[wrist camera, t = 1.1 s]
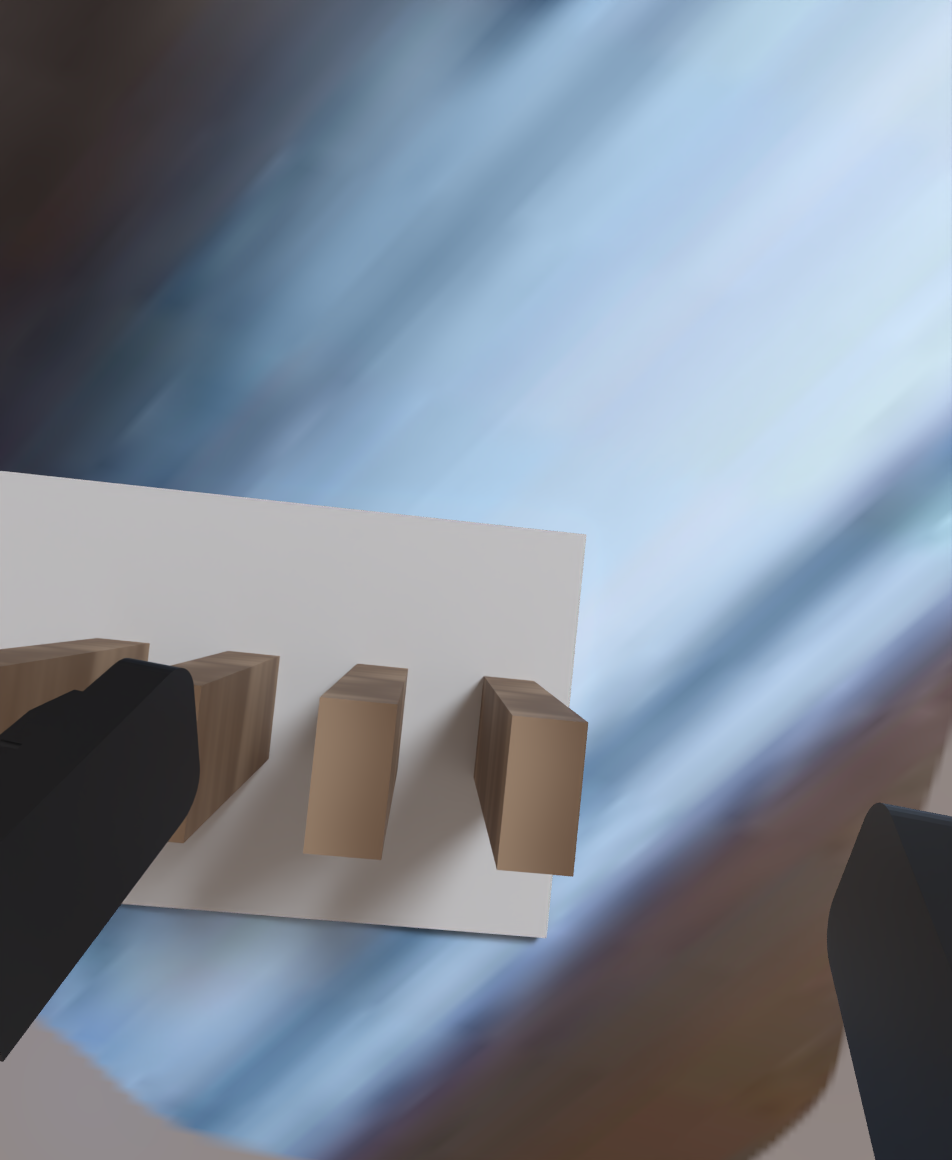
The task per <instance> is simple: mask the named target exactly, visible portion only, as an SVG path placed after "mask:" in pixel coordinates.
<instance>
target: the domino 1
mask: <svg viewBox="0 0 952 1160" xmlns="http://www.w3.org/2000/svg"><path fill="white" fill-rule="evenodd" d="M149 647H150V643H143V642H133V641H123V640H113V639H102V638H93V639H84V640H75V641H67V642H58V643H49V644H41V645H32V646H23V647H15V648H6V649H0V734H1V733H3V732H4V731H5V730H6V729H7V728H9V727H10V726H11V725H12V724H13V723H15V722H16V721H17V720H18V719H20V718H21V717H22V716H23V715H24V714H26V713H27V712H28V711H29V710H31V709H33V708H36V707H38V706H40V705H42V704H44V703H46V702H48V701H50V700H53V699H55V698H57V697H59V696H61V695H63V694H65V693H68V692H70V691H72V690H79V691H84V690H85V689H86V688H87V687H88V686H90V685H91V684H92V683H93V682H94V681H95V680H96V679H98V678H99V677H100V676H101V675H102V674H103V673H104V672H106V671H107V670H108V669H109V668H110V667H111V666H113V665H114V664H115V663H116V662H118V661H119V660H121V659H123V658H132V659H138V660H143V661H148V656H149Z"/></svg>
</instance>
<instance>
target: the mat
mask: <svg viewBox="0 0 952 1160" xmlns="http://www.w3.org/2000/svg"><path fill="white" fill-rule="evenodd" d="M585 543H586V535H585V534H576V533H567V532H558V531H548V530H539V529H530V528H521V527H511V526H502V525H493V524H484V523H475V522H465V521H456V520H447V519H438V518H429V517H419V516H410V515H401V514H392V513H383V512H373V511H364V510H355V509H346V508H336V507H327V506H318V505H309V504H300V503H290V502H281V501H272V500H263V499H254V498H244V497H235V496H226V495H217V494H208V493H198V492H189V491H180V490H171V489H161V488H152V487H143V486H134V485H125V484H115V483H106V482H97V481H88V480H79V479H69V478H60V477H51V476H42V475H33V474H23V473H14V472H5V471H0V649H6V648H15V647H23V646H32V645H41V644H49V643H58V642H67V641H75V640H84V639H93V638H102V639H113V640H123V641H133V642H143V643H150V647H149V656H148V662H153V663H159V664H164V665H169V666H171V665H175V664H179V663H183V662H186V661H190V660H194V659H198V658H202V657H206V656H210V655H214V654H218V653H222V652H226V651H235V652H245V653H255V654H265V655H276V656H280V661H279V670H278V679H277V688H276V697H275V707H274V716H273V725H272V734H271V743H270V752H269V759H268V760H267V761H266V762H265V763H264V764H263V765H262V766H261V767H260V768H259V769H258V770H257V771H256V772H255V773H254V774H253V775H252V776H251V777H250V778H249V779H248V780H247V781H246V782H245V783H244V784H243V785H242V786H241V787H240V788H239V789H238V790H237V791H236V792H235V793H234V794H233V795H232V796H231V797H230V798H229V799H228V800H227V801H226V802H225V803H224V804H223V805H222V806H221V807H220V808H219V809H218V810H217V811H216V812H215V813H214V814H213V815H212V816H211V817H210V818H209V819H208V820H207V821H206V822H205V823H204V824H203V825H202V826H201V827H200V828H199V829H198V830H197V831H196V832H195V833H194V834H193V835H192V836H191V837H190V838H189V839H188V840H187V841H186V842H185V843H174V842H167V844H166V845H165V846H164V848H163V849H162V850H161V852H160V853H159V854H158V856H157V857H156V858H155V860H154V861H153V862H152V864H151V865H150V866H149V868H148V869H147V870H146V872H145V873H144V874H143V876H142V877H141V878H140V880H139V881H138V882H137V884H136V885H135V886H134V888H133V889H132V890H131V892H130V893H129V894H128V896H127V897H126V898H125V900H124V901H123V902H122V904H129V905H142V906H154V907H166V908H179V909H191V910H204V911H216V912H228V913H241V914H253V915H266V916H278V917H290V918H303V919H315V920H328V921H340V922H352V923H365V924H377V925H390V926H402V927H414V928H427V929H439V930H451V931H464V932H476V933H489V934H501V935H513V936H526V937H538V938H546V936H547V926H548V916H549V906H550V896H551V886H552V876H553V875H550V874H538V873H527V872H515V871H503V870H497V869H496V865H495V861H494V857H493V853H492V849H491V845H490V841H489V837H488V833H487V829H486V825H485V821H484V817H483V813H482V809H481V805H480V801H479V797H478V793H477V789H476V785H475V781H474V768H475V758H476V748H477V738H478V729H479V719H480V709H481V699H482V690H483V680H484V676H489V677H500V678H510V679H520V680H530V681H535V682H536V683H537V684H539V685H540V686H541V687H543V688H544V689H545V690H546V691H548V692H549V693H550V694H552V695H553V696H554V697H556V698H557V699H558V700H559V701H561V702H562V703H563V704H565V705H566V706H567V707H568V708H569V704H570V694H571V684H572V674H573V664H574V654H575V644H576V634H577V623H578V613H579V603H580V593H581V583H582V573H583V563H584V553H585ZM356 664H367V665H377V666H388V667H398V668H408V676H407V686H406V695H405V705H404V714H403V724H402V733H401V743H400V752H399V762H398V771H397V776H396V782H395V787H394V793H393V798H392V804H391V809H390V815H389V820H388V826H387V831H386V837H385V842H384V848H383V853H382V859H381V860H374V859H362V858H350V857H338V856H327V855H315V854H303V848H304V839H305V830H306V820H307V811H308V802H309V793H310V784H311V774H312V765H313V756H314V747H315V737H316V728H317V719H318V710H319V700H320V696H322V695H323V694H324V693H325V692H326V691H327V690H328V689H329V688H331V687H332V686H333V685H334V684H335V683H336V682H337V681H338V680H339V679H341V678H342V677H343V676H344V675H345V674H346V673H347V672H348V671H350V670H351V669H352V668H353V667H354V666H355V665H356Z"/></svg>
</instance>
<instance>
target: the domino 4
mask: <svg viewBox="0 0 952 1160" xmlns="http://www.w3.org/2000/svg"><path fill="white" fill-rule="evenodd" d="M587 730H588V722H587V721H585V720H584V719H583V718H581V717H580V716H579V715H578V714H576V713H575V712H574V711H572V710H571V709H570V708H568V707H567V706H566V705H565V704H563V703H562V702H561V701H559V700H558V699H557V698H556V697H554V696H553V695H552V694H550V693H549V692H548V691H546V690H545V689H544V688H543V687H541V686H540V685H539V684H537V683H536V682H535V681H530V680H520V679H510V678H500V677H489V676H484V680H483V690H482V699H481V709H480V719H479V729H478V738H477V748H476V758H475V768H474V781H475V785H476V789H477V793H478V797H479V801H480V805H481V809H482V813H483V817H484V821H485V825H486V829H487V833H488V837H489V841H490V845H491V849H492V853H493V857H494V861H495V865H496V869H497V870H503V871H515V872H527V873H538V874H550V875H562V876H573V872H574V862H575V852H576V842H577V832H578V821H579V811H580V801H581V791H582V781H583V771H584V760H585V750H586V740H587Z"/></svg>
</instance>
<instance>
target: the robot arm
mask: <svg viewBox="0 0 952 1160" xmlns="http://www.w3.org/2000/svg"><path fill="white" fill-rule="evenodd" d="M199 778H200V760H199V747H198V733H197V720H196V706H195V693H194V683H193V679H192V676H191V674H190V672H189V671H188V670H186V669H185V668H180V667H174V666H169V665H164V664H159V663H153V662H148V661H143V660H138V659H132V658H123V659H121V660H119V661H118V662H116V663H115V664H114V665H113V666H111V667H110V668H109V669H108V670H107V671H106V672H104V673H103V674H102V675H101V676H100V677H99V678H98V679H96V680H95V681H94V682H93V683H92V684H91V685H90V686H88V687H87V688H86V689H85V690H84V691H79V690H72V691H70V692H68V693H65V694H63V695H61V696H59V697H57V698H55V699H53V700H50V701H48V702H46V703H44V704H42V705H40V706H38V707H36V708H33V709H31V710H29V711H28V712H27V713H26V714H24V715H23V716H22V717H21V718H20V719H18V720H17V721H16V722H15V723H13V724H12V725H11V726H10V727H9V728H7V729H6V730H5V731H4V732H3V733H1V734H0V1061H4V1060H5V1058H6V1057H7V1056H8V1054H9V1053H10V1052H11V1050H12V1049H13V1048H14V1046H15V1045H16V1044H17V1042H18V1041H19V1040H20V1038H21V1037H22V1036H23V1034H24V1033H25V1032H26V1030H27V1029H28V1028H29V1026H30V1025H31V1024H32V1022H33V1021H34V1020H35V1018H36V1017H37V1016H38V1014H39V1013H40V1012H41V1010H42V1009H43V1008H44V1006H45V1005H46V1004H47V1002H48V1001H49V1000H50V998H51V997H52V996H53V994H54V993H55V992H56V990H57V989H58V988H59V986H60V985H61V984H62V982H63V981H64V980H65V978H66V977H67V976H68V974H69V973H70V972H71V970H72V969H73V968H74V966H75V965H76V964H77V962H78V961H79V960H80V958H81V957H82V956H83V954H84V953H85V952H86V950H87V949H88V948H89V946H90V945H91V944H92V942H93V941H94V940H95V938H96V937H97V936H98V934H99V933H100V932H101V930H102V929H103V928H104V926H105V925H106V924H107V922H108V921H109V920H110V918H111V917H112V916H113V914H114V913H115V912H116V910H117V909H118V908H119V906H120V905H121V904H122V902H123V901H124V900H125V898H126V897H127V896H128V894H129V893H130V892H131V890H132V889H133V888H134V886H135V885H136V884H137V882H138V881H139V880H140V878H141V877H142V876H143V874H144V873H145V872H146V870H147V869H148V868H149V866H150V865H151V864H152V862H153V861H154V860H155V858H156V857H157V856H158V854H159V853H160V852H161V850H162V849H163V848H164V846H165V845H166V844H167V842H168V841H169V840H170V838H171V837H172V836H173V834H174V833H175V832H176V830H177V829H178V828H179V826H180V825H181V824H182V822H183V821H184V819H185V818H186V816H187V814H188V813H189V811H190V809H191V806H192V804H193V802H194V799H195V796H196V793H197V789H198V784H199ZM827 949H828V958H829V963H830V968H831V972H832V976H833V981H834V985H835V989H836V994H837V998H838V1002H839V1006H840V1011H841V1015H842V1019H843V1023H844V1028H845V1032H846V1036H847V1041H848V1045H849V1049H850V1053H851V1057H852V1061H853V1066H854V1070H855V1075H856V1079H857V1083H858V1088H859V1092H860V1096H861V1100H862V1105H863V1109H864V1113H865V1117H866V1122H867V1126H868V1130H869V1135H870V1139H871V1143H872V1147H873V1151H874V1156H875V1160H952V817H951V816H947V815H941V814H936V813H931V812H926V811H920V810H915V809H910V808H905V807H899V806H894V805H889V804H884V803H876V804H874V805H873V806H872V807H871V808H870V809H869V811H868V813H867V815H866V817H865V819H864V822H863V824H862V827H861V829H860V832H859V834H858V837H857V840H856V842H855V845H854V847H853V850H852V852H851V855H850V858H849V860H848V863H847V865H846V868H845V870H844V873H843V875H842V878H841V881H840V883H839V886H838V888H837V891H836V893H835V896H834V899H833V902H832V905H831V909H830V913H829V919H828V929H827Z"/></svg>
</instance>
